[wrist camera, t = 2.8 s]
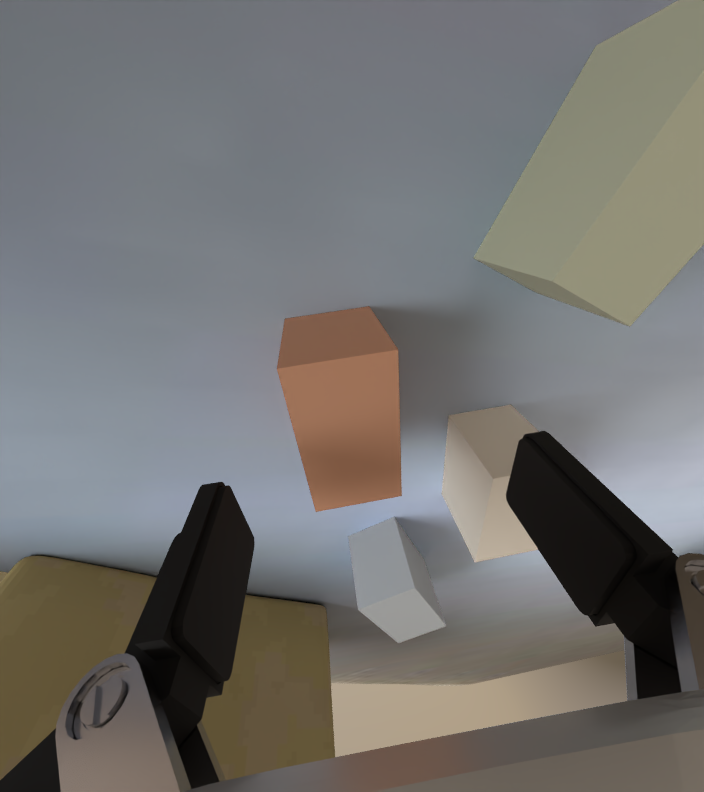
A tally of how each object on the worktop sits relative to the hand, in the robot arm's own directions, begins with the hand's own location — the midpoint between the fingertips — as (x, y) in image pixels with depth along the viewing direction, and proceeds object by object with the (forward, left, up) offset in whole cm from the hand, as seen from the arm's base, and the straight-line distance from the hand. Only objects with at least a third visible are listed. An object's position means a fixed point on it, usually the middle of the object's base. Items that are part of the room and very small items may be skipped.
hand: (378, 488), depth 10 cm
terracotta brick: (0, -1, -7) cm, 7 cm away
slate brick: (+16, +1, -7) cm, 17 cm away
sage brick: (-7, +9, -7) cm, 14 cm away
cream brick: (+7, +7, -7) cm, 12 cm away
